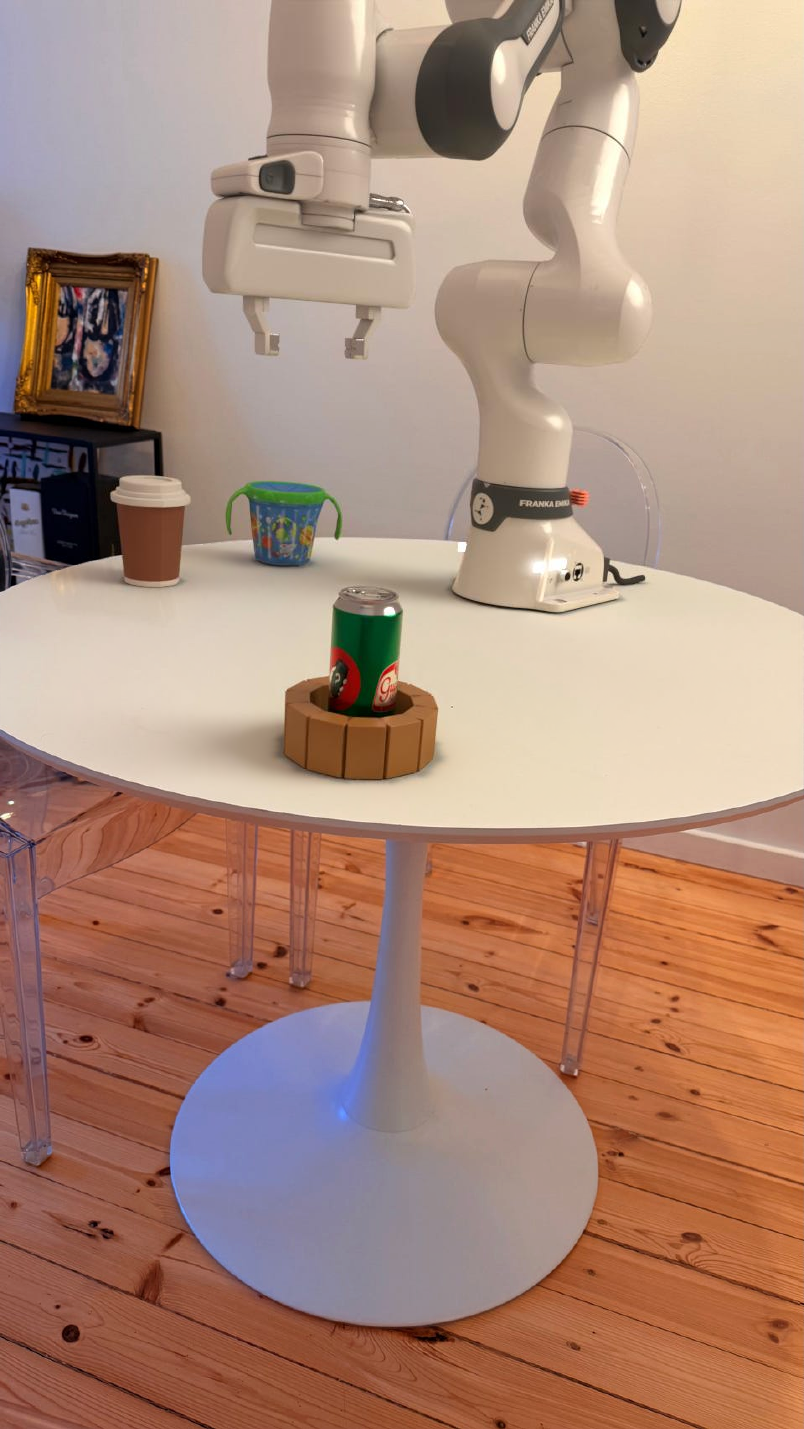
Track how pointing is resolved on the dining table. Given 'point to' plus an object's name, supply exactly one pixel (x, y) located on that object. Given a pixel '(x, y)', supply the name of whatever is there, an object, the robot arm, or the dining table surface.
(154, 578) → the coffee cup
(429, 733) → the brown segmented block ring
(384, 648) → the soda can
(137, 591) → the dining table surface
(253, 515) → the snack cup
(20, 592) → the dining table surface
